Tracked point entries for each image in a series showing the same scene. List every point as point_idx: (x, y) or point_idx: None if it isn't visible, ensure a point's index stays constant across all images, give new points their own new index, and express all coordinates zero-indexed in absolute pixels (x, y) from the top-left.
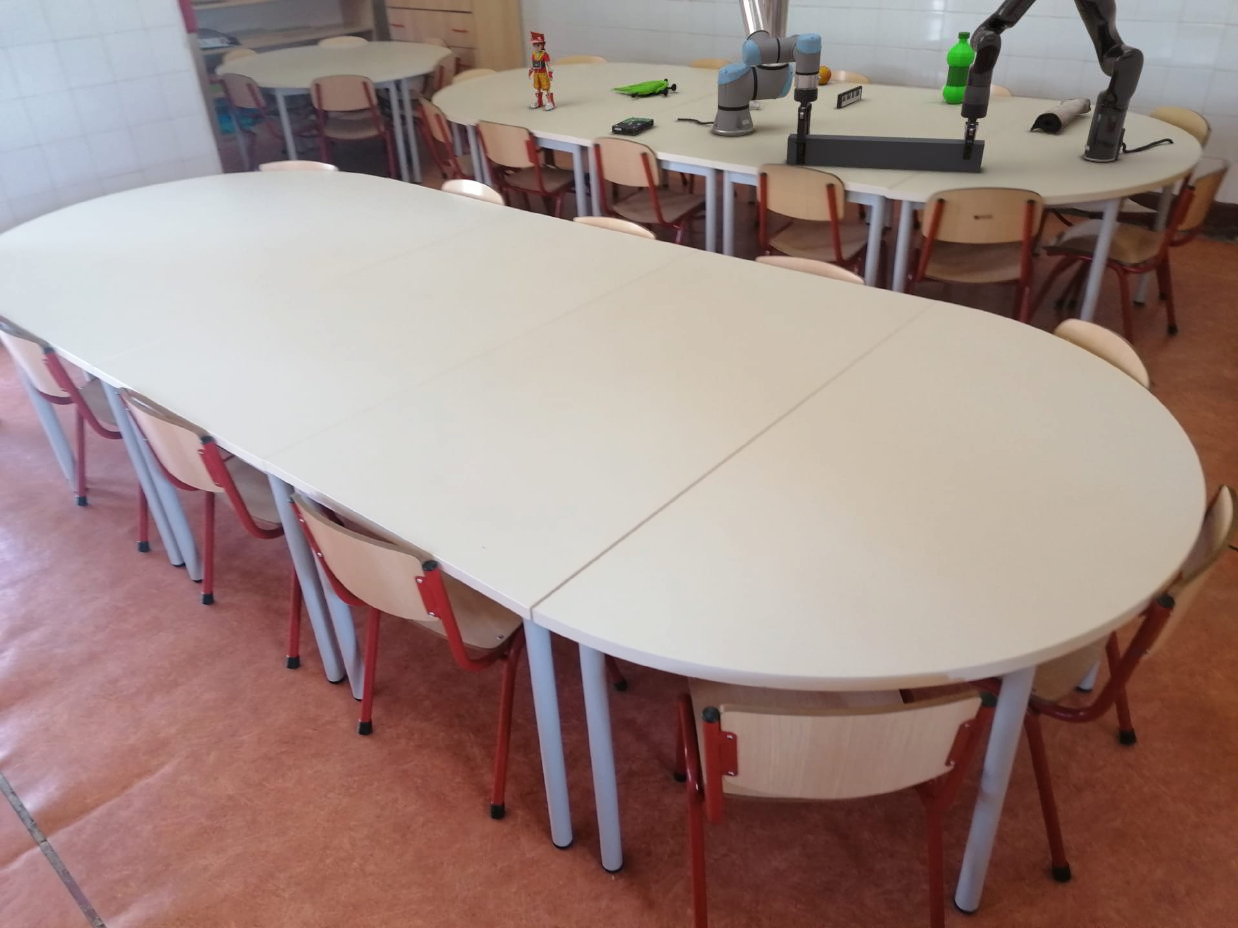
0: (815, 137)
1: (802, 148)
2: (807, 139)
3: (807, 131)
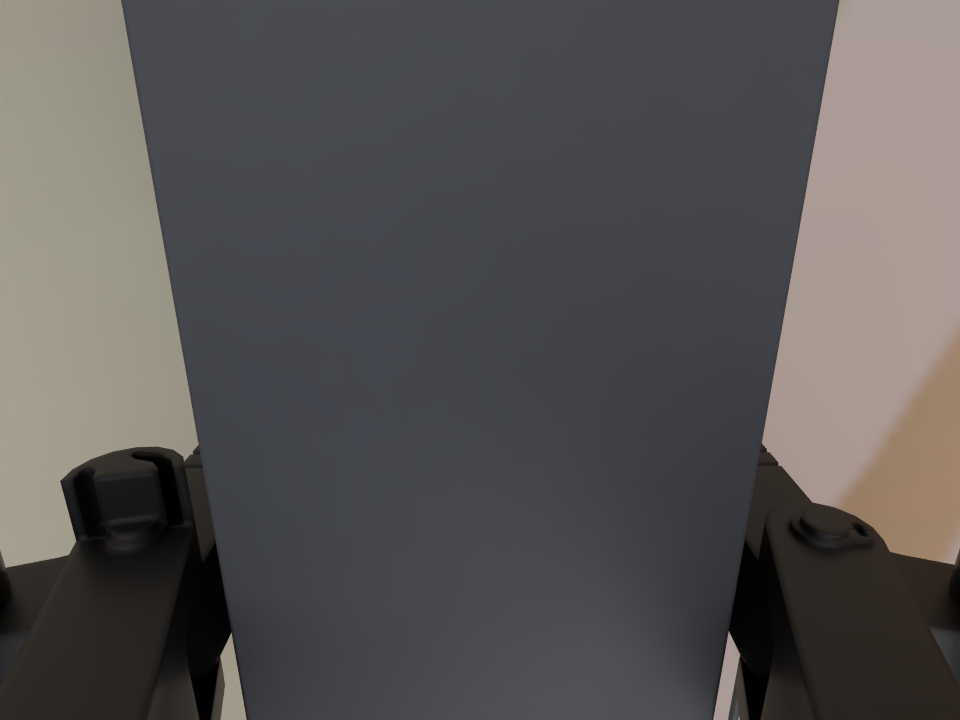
0: (638, 293)
1: (795, 488)
2: (729, 518)
3: (161, 684)
